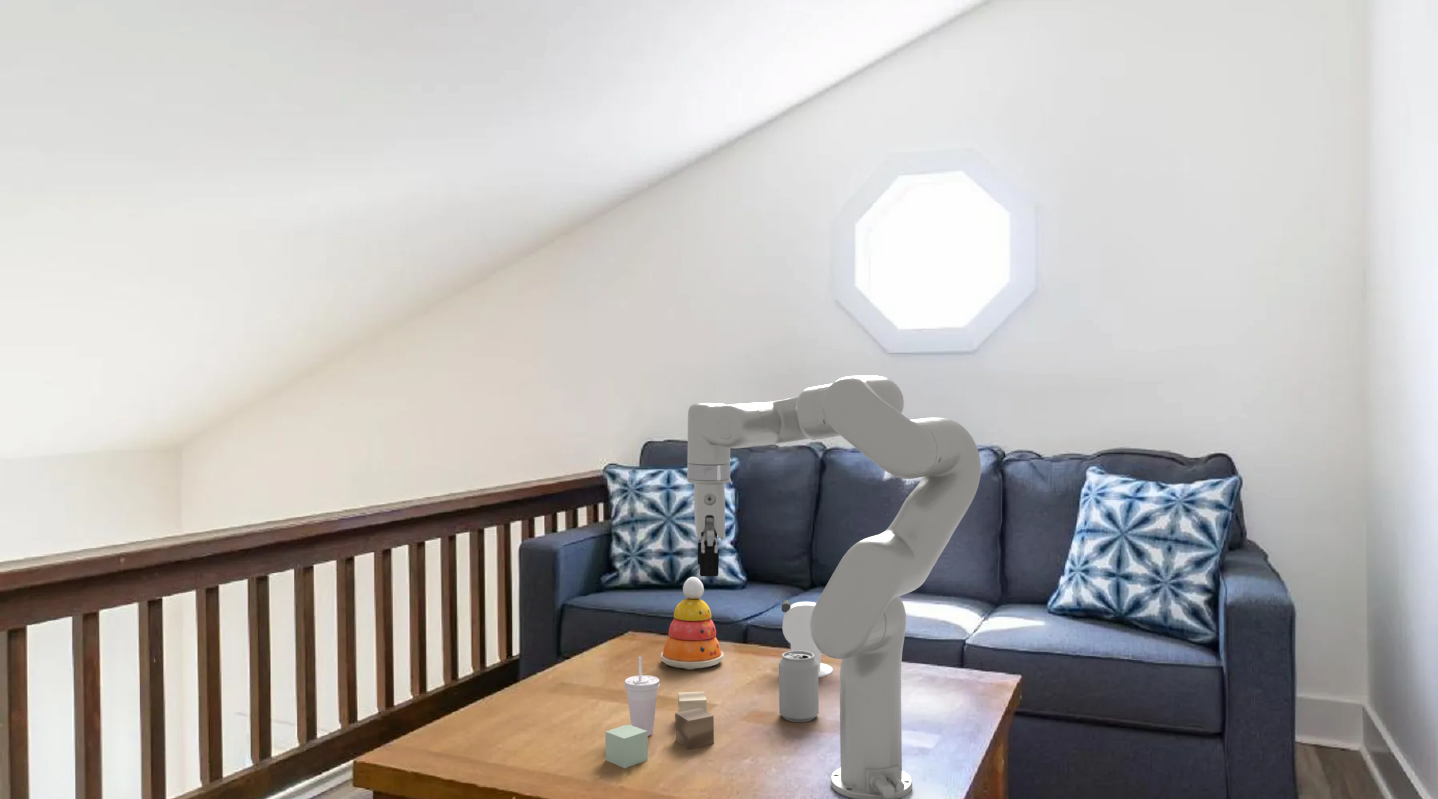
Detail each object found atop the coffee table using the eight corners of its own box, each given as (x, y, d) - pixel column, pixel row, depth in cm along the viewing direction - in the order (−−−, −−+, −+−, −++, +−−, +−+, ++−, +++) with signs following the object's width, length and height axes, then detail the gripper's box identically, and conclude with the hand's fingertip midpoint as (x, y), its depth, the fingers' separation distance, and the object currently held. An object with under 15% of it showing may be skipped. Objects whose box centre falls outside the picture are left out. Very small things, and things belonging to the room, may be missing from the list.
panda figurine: (835, 663, 227) (834, 596, 226) (836, 678, 215) (835, 608, 215) (781, 662, 228) (780, 596, 228) (779, 677, 217) (778, 607, 216)
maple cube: (706, 726, 187) (706, 699, 187) (679, 727, 187) (679, 701, 186) (704, 717, 192) (704, 691, 192) (678, 718, 192) (678, 692, 191)
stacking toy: (688, 676, 218) (687, 586, 218) (647, 663, 229) (646, 577, 228) (736, 663, 228) (735, 577, 227) (695, 651, 238) (694, 569, 238)
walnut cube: (713, 743, 178) (713, 715, 178) (688, 749, 176) (688, 720, 176) (700, 735, 182) (699, 707, 182) (675, 740, 180) (675, 712, 180)
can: (816, 724, 187) (815, 660, 187) (776, 722, 189) (775, 658, 188) (820, 711, 194) (820, 649, 194) (782, 709, 196) (781, 647, 196)
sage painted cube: (647, 760, 171) (647, 731, 171) (624, 768, 167) (624, 738, 167) (628, 752, 174) (628, 724, 174) (605, 760, 171) (605, 731, 171)
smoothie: (618, 735, 182) (617, 658, 182) (637, 724, 188) (636, 650, 188) (648, 741, 179) (647, 663, 179) (667, 730, 185) (665, 654, 185)
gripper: (733, 479, 169) (732, 580, 170) (726, 468, 186) (725, 560, 187) (688, 479, 169) (687, 581, 169) (686, 468, 186) (685, 560, 187)
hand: (707, 570), depth 178 cm, fingers open, 9 cm apart
